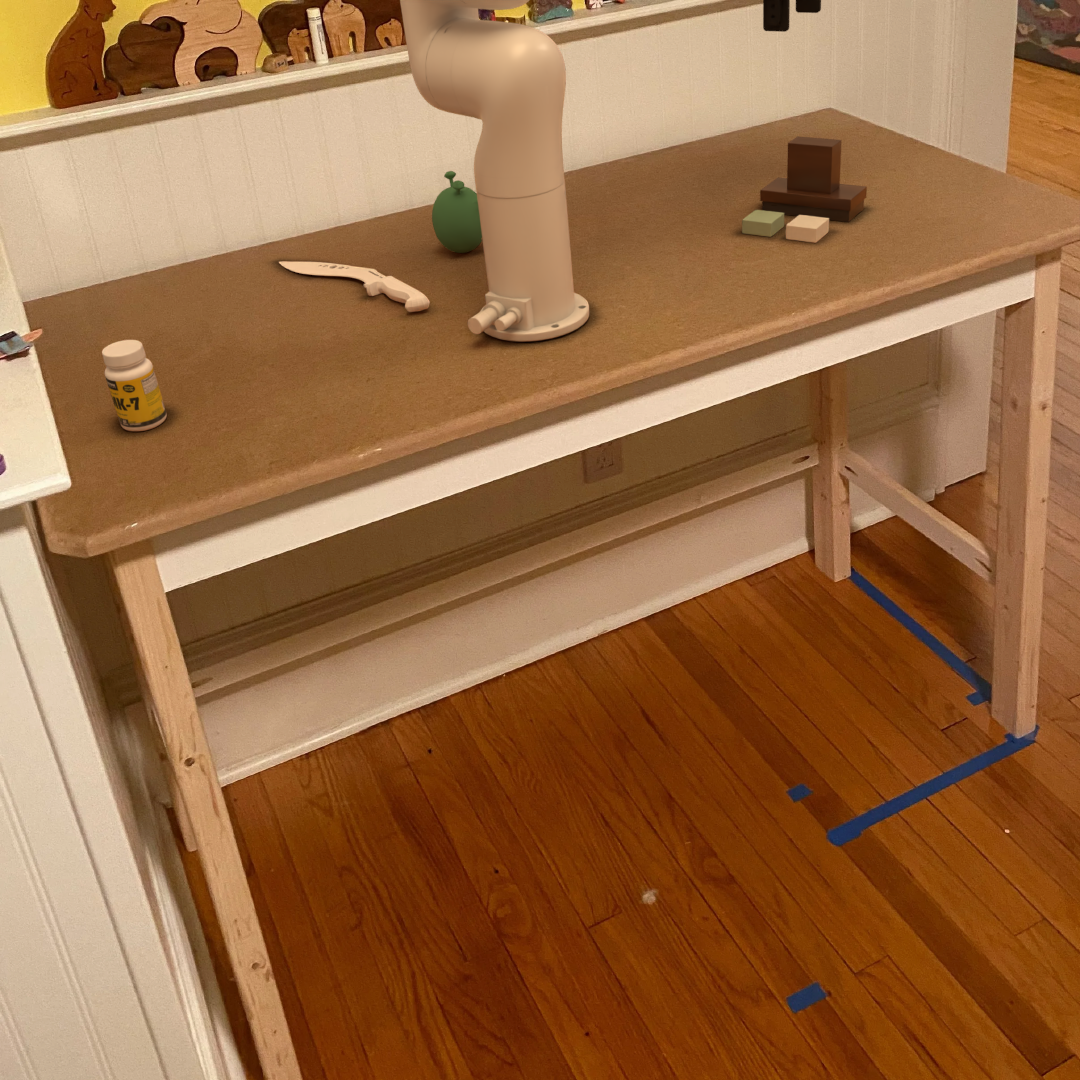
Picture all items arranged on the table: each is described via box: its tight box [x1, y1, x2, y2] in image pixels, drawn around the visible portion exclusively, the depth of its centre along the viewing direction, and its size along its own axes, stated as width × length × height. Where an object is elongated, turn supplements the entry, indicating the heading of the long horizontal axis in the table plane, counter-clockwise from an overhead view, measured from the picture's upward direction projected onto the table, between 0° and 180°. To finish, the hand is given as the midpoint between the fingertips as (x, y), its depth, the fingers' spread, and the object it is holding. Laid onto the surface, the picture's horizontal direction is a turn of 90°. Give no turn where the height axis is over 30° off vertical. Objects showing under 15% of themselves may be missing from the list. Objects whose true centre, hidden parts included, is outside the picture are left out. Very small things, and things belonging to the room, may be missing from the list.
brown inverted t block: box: [759, 135, 868, 223], centre depth 157 cm, size 5×12×9 cm, turn 56°
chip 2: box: [785, 215, 830, 244], centre depth 152 cm, size 4×4×2 cm
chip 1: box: [741, 209, 785, 238], centre depth 155 cm, size 4×4×2 cm
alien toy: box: [431, 170, 483, 254], centre depth 156 cm, size 7×8×10 cm
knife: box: [278, 261, 431, 313], centre depth 152 cm, size 30×2×8 cm
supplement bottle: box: [101, 339, 168, 432], centre depth 124 cm, size 5×5×8 cm
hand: (792, 21), depth 152 cm, fingers open, 9 cm apart
